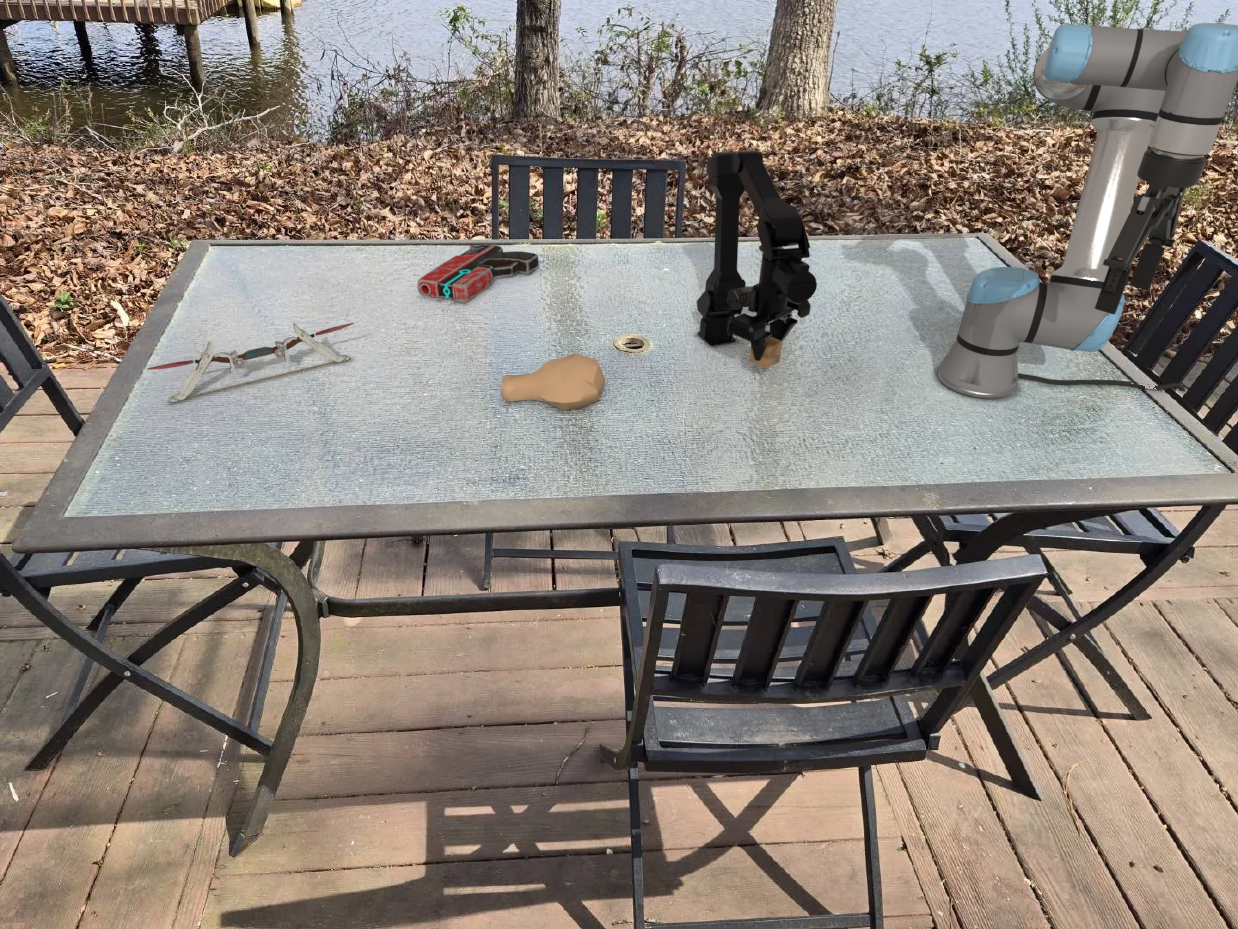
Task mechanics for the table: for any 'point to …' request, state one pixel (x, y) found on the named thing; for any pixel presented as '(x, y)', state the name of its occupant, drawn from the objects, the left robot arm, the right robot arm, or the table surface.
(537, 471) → the table surface
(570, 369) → the squash
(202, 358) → the bow
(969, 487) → the table surface
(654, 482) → the table surface
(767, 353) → the block
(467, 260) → the gun
